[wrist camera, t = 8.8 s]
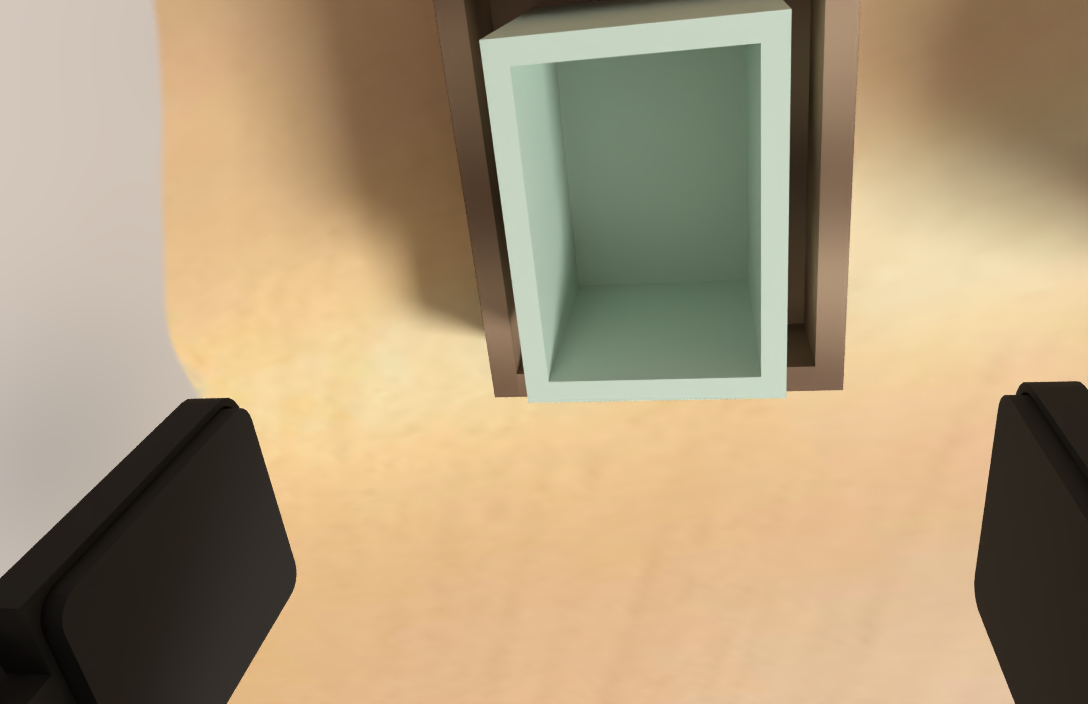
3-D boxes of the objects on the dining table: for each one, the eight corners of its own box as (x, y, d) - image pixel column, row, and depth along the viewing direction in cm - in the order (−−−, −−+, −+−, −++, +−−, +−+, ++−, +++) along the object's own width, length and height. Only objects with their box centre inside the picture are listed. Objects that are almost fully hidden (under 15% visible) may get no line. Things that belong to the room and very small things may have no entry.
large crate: (461, -60, 25) (424, -55, 22) (840, -106, 23) (865, -109, 20) (516, 344, 31) (495, 397, 27) (825, 334, 29) (843, 390, 25)
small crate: (533, 7, 25) (479, 40, 19) (766, -17, 24) (791, 9, 17) (564, 297, 29) (528, 402, 23) (766, 289, 28) (786, 397, 21)
